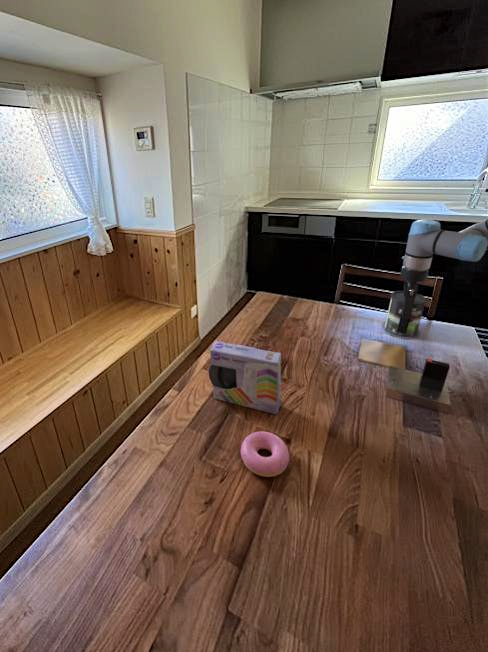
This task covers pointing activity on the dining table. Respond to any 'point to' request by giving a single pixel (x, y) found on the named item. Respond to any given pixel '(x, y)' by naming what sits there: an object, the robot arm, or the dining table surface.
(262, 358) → the cake pan box
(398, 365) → the plate
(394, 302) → the coffee can
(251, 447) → the doughnut
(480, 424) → the dining table surface
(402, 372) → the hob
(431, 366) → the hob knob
